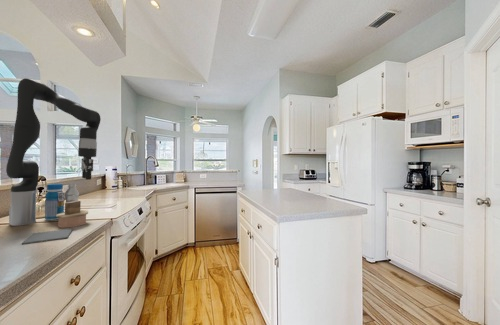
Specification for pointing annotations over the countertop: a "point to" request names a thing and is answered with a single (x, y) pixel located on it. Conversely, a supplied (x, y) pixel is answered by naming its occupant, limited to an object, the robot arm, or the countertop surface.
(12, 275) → the countertop surface
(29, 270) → the countertop surface
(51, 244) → the countertop surface
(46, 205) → the beverage bottle
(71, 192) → the plastic bottle
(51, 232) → the charcoal mat
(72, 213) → the oak lid
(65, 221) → the terracotta bowl
